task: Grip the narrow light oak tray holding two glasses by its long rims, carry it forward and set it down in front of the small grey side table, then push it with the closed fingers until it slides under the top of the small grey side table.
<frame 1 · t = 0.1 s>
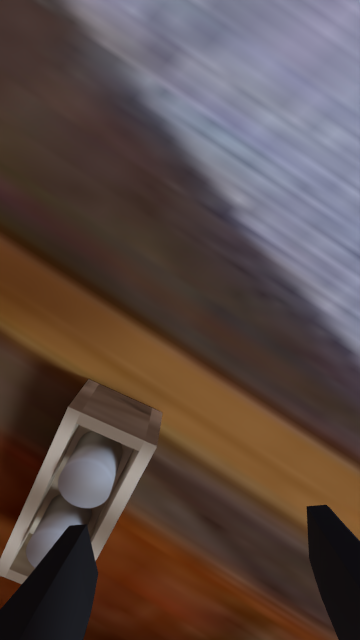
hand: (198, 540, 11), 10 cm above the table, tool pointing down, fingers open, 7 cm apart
tray: (89, 471, 22), on the table
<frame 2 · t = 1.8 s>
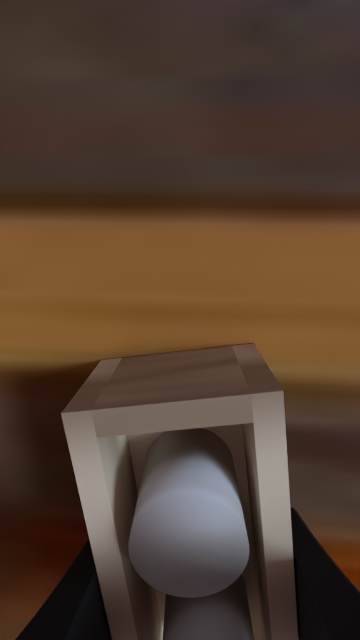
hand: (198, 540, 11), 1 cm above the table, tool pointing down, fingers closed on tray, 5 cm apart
tray: (197, 507, 12), on the table, touching gripper
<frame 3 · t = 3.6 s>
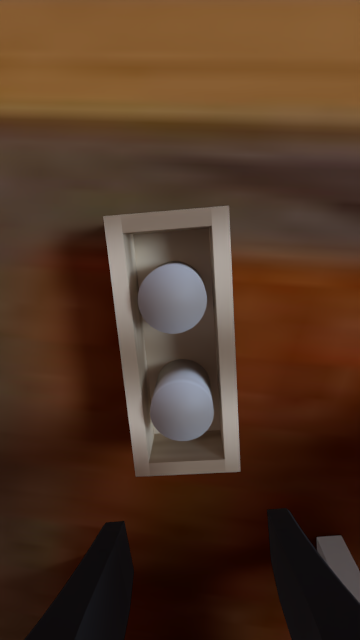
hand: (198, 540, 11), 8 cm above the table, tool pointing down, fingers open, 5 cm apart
tray: (180, 333, 18), on the table
small grey side table: (220, 615, 22), on the table
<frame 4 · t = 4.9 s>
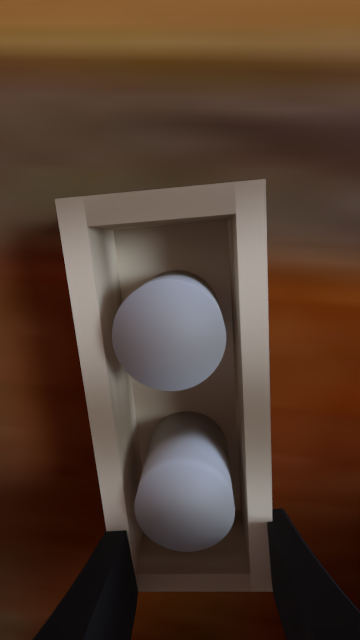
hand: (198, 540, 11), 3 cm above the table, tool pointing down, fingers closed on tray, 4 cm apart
tray: (184, 371, 13), on the table, touching gripper
when the fingers open (3 cm above the table, at t = 5.3 s): tray stays where it is, on the table.
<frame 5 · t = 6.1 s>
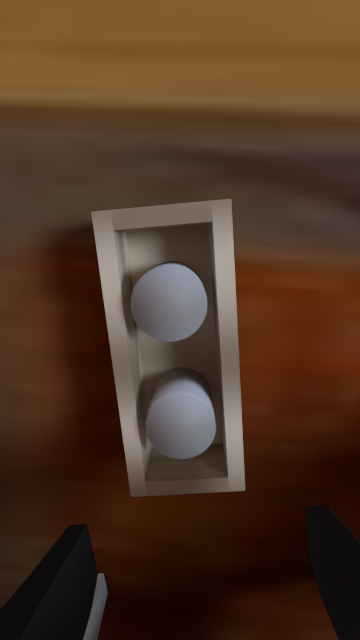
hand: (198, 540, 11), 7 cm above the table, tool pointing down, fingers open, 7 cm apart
tray: (178, 339, 17), on the table
small grey side table: (220, 638, 21), on the table
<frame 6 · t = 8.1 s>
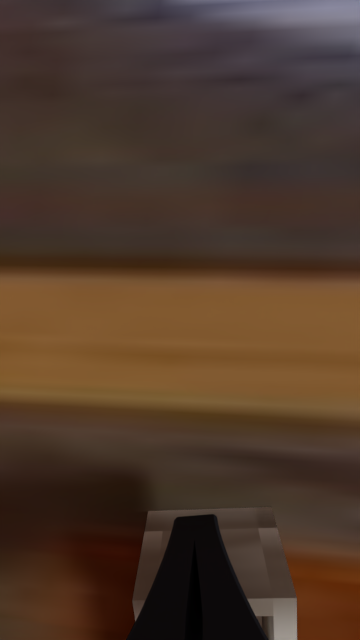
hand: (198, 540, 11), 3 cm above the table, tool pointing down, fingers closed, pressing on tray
tray: (217, 620, 15), on the table, touching gripper
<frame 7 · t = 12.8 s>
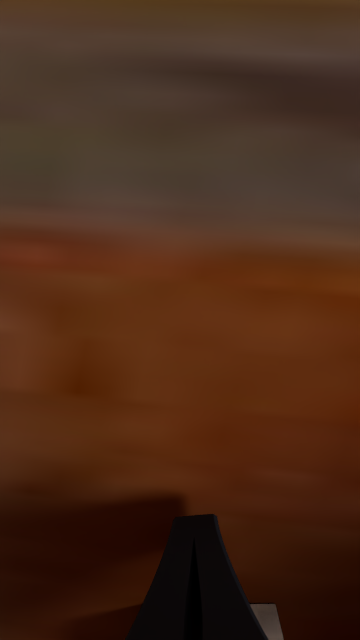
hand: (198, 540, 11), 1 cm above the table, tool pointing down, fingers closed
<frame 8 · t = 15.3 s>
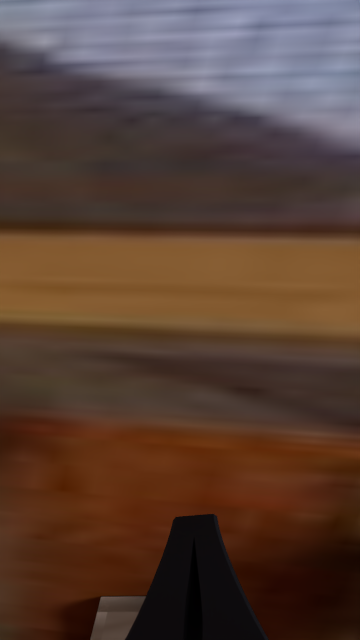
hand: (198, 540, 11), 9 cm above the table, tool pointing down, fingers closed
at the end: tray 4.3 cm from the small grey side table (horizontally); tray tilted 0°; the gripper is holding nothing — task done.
